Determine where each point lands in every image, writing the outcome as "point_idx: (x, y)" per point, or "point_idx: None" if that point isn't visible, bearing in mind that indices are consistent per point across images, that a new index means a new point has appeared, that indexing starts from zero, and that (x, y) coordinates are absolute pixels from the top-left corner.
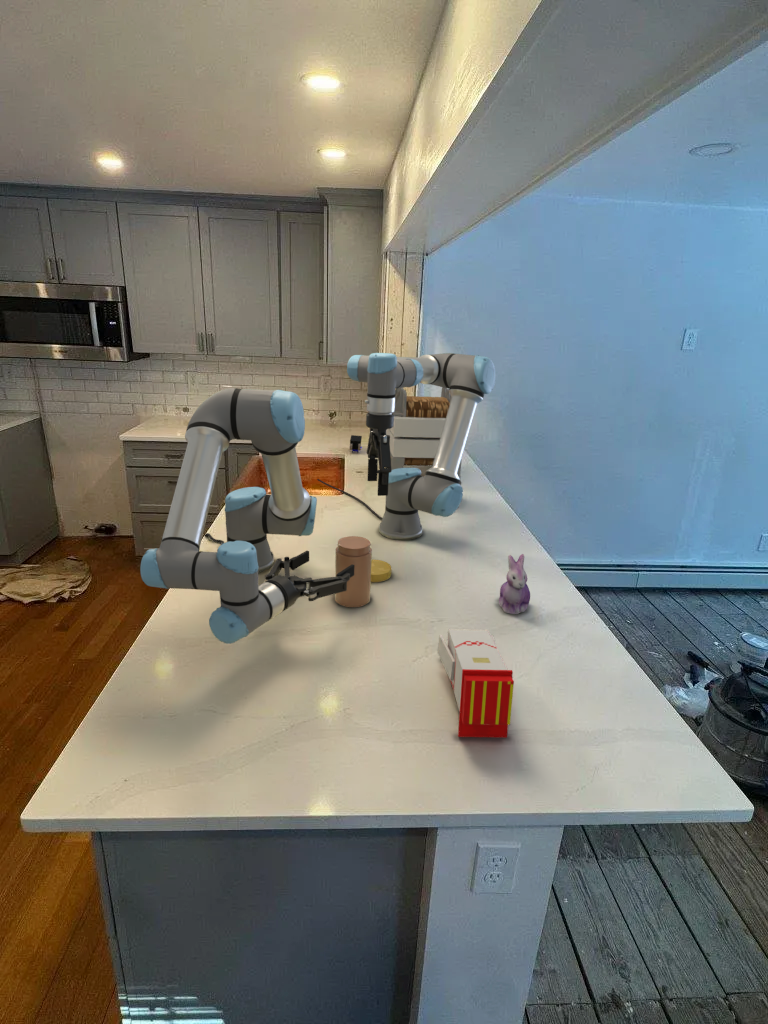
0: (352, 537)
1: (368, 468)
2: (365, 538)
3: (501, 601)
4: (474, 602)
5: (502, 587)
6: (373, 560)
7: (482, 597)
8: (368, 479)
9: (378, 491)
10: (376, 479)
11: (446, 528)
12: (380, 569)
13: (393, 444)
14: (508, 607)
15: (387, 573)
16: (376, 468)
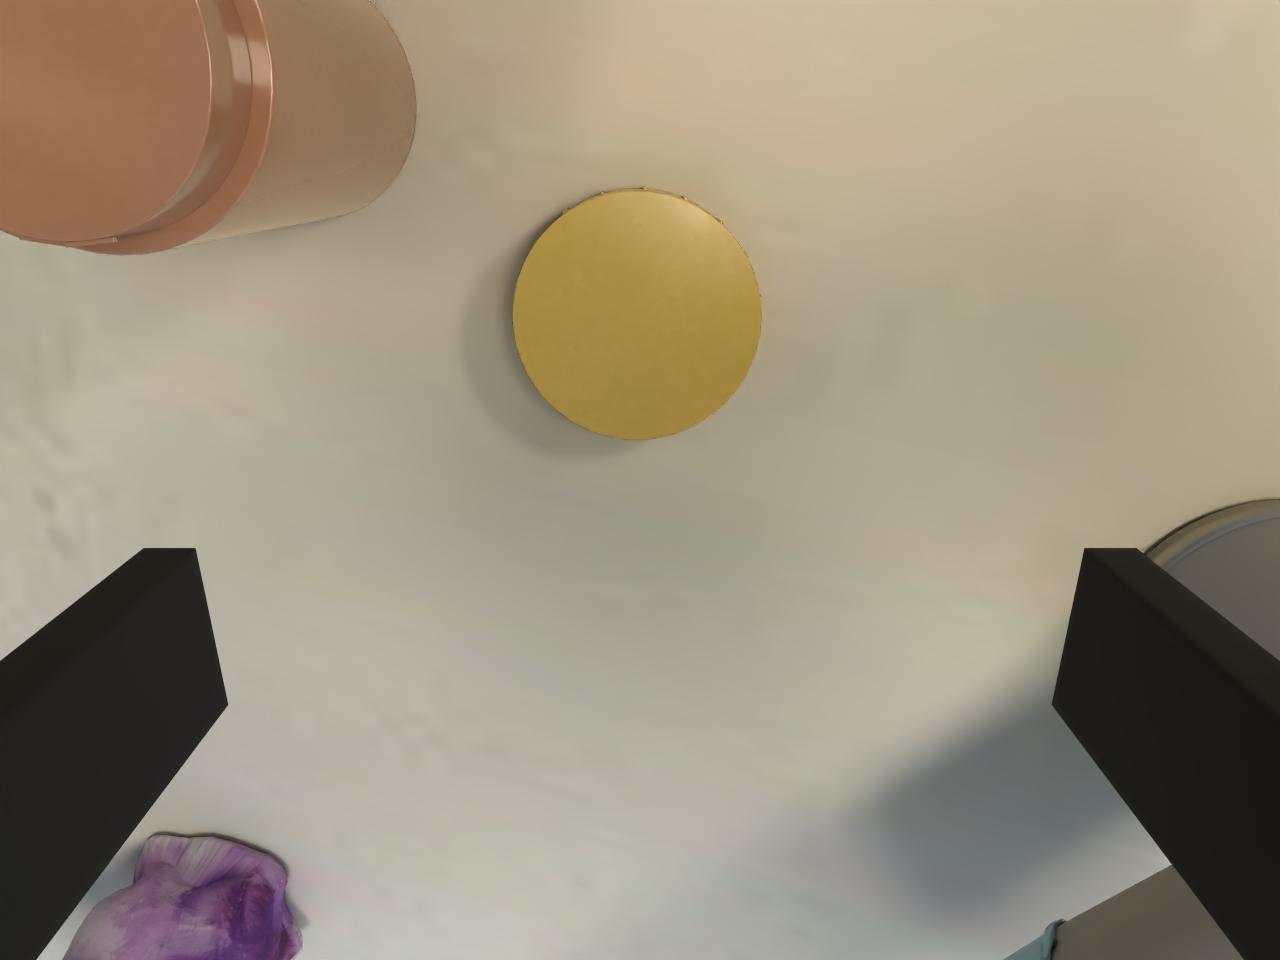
0: (168, 56)
1: (1268, 713)
2: (148, 209)
3: (198, 858)
4: (256, 747)
5: (205, 916)
6: (740, 342)
7: (307, 795)
8: (1101, 572)
9: (90, 592)
10: (1070, 713)
11: None
12: (589, 359)
13: None
14: (141, 865)
15: (543, 394)
16: (1211, 887)
